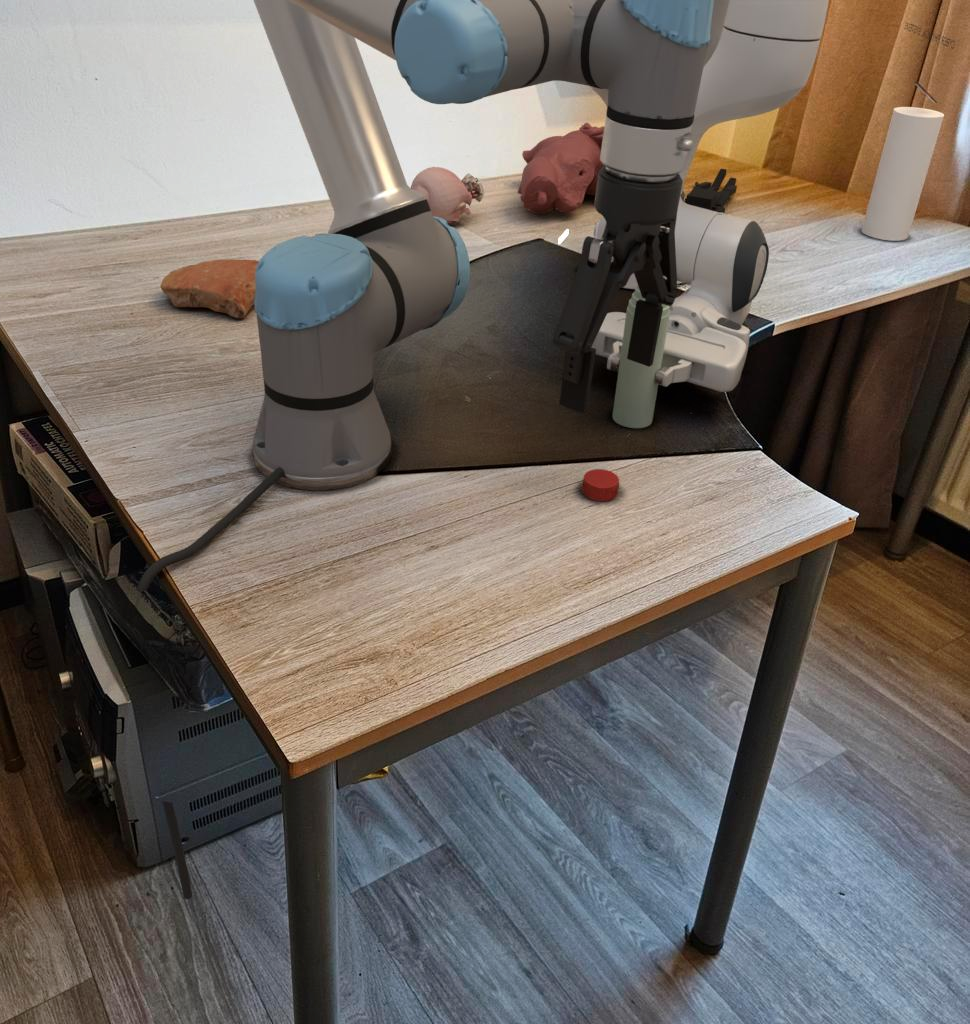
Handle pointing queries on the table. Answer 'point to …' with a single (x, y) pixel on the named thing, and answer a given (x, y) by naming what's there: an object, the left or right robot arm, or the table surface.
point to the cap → (600, 485)
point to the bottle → (638, 375)
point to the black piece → (712, 193)
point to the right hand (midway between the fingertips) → (636, 372)
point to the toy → (447, 192)
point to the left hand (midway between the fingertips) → (608, 384)
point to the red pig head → (562, 170)
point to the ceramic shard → (214, 286)
